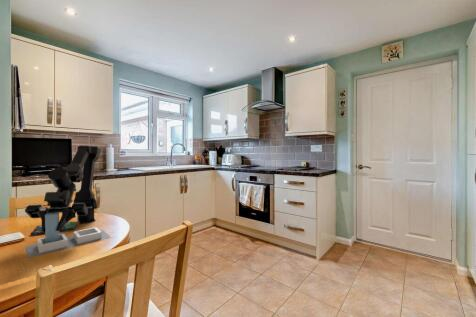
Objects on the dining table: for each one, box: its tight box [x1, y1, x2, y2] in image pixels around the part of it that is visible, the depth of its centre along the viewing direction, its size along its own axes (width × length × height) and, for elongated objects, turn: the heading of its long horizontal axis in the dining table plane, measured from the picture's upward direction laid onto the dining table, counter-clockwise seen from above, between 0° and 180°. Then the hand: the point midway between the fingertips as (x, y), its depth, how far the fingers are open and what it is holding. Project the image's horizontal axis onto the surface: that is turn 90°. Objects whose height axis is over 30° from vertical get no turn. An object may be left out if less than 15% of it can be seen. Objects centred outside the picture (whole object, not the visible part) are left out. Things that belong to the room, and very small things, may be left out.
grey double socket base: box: [25, 226, 112, 259], centre depth 87 cm, size 25×12×4 cm, turn 136°
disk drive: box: [30, 220, 78, 237], centre depth 100 cm, size 10×3×15 cm
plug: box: [44, 212, 60, 244], centre depth 83 cm, size 4×4×12 cm
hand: (50, 231), depth 81 cm, fingers closed on plug, 4 cm apart
